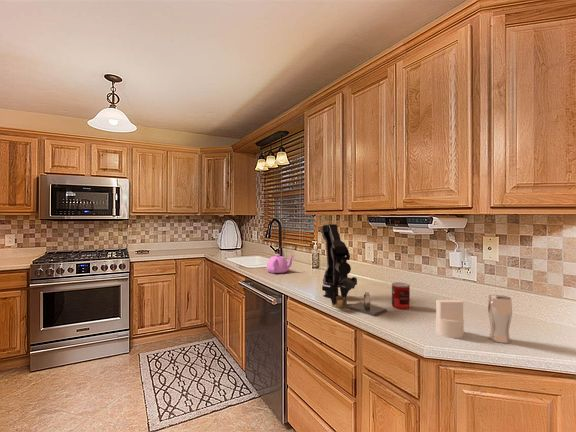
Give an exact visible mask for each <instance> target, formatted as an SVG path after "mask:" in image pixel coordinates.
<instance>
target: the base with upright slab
mask: <svg viewBox="0 0 576 432" xmlns="http://www.w3.org/2000/svg"><path fill="white" fill-rule="evenodd" d="M435 304H436V309H435V311H436V312H435V314H436V315H435V332H436V334H438V335H440V336H441V337H444V338H445V337H446V338H448V339H463V338H464V330H465V326H464V324H465V319H464V301H463V300H461V299H436V303H435Z"/></svg>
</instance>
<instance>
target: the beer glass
mask: <svg viewBox="0 0 576 432" xmlns="http://www.w3.org/2000/svg"><path fill="white" fill-rule="evenodd" d="M487 301H488V302H487V303H488V304H487V313H488V318H489V324H490V332H489V337H488V338H489V340H490V341H493V342H497V343H499V344H510V343H511V337H510V327H511V322H512V317H513V303H512V298H511V297H510V296H508V295H506V296H505V295H501V294H489V295H488V300H487Z"/></svg>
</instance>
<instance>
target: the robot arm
mask: <svg viewBox="0 0 576 432" xmlns="http://www.w3.org/2000/svg"><path fill="white" fill-rule="evenodd" d="M320 233H321V236H322V239H324V241H325V251H326V252H325V253H326V265H327V267H326V269H325V270H324V271H325V272H324V275H323V278H322V284H323V285H322V286H321V291H324V294H323V297H325V298H329V299H330V301H331V304H332V303H333V305H335V303H336V296H341V297H346V298H347V296H348V294H349V291H350V290H352V289H355V287H356V286H357V285H358V278H357V277H356V276H353V277H352V276H351V277H349V276H348V274H350V273H351V271H352V267H351V265H350V264H349V262H348V261H350V257H351V255H350V252H349V251H350V250H349V249H348V247H347V246H346V244H345V242H343V241H342V239H341V236H340V233H339V229H338V224H336V223H333V224H332V223H328V224H323V225H322V226H321V228H320ZM339 290H340V291H339ZM339 292H340V295H339Z"/></svg>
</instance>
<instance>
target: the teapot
mask: <svg viewBox="0 0 576 432" xmlns="http://www.w3.org/2000/svg"><path fill="white" fill-rule="evenodd" d="M294 256H295V255H291V256H289V260H287V259H286V258H285V256H283V255H282V256H281V255H280V253H276V254H274V256H271V257H270V258H269V260H268V261H267V263H266V266H265V267H266V271H267V272H268V273H271V274H284V273H287V272H288V270H289V268H291V267H292V263H293V262H292V261H293V258H294Z"/></svg>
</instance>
